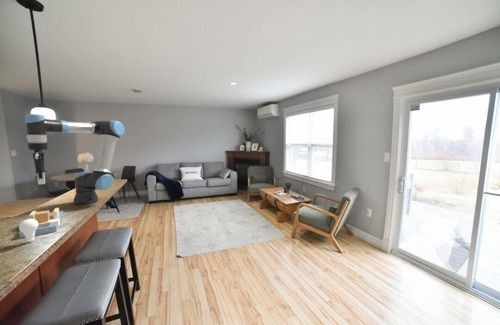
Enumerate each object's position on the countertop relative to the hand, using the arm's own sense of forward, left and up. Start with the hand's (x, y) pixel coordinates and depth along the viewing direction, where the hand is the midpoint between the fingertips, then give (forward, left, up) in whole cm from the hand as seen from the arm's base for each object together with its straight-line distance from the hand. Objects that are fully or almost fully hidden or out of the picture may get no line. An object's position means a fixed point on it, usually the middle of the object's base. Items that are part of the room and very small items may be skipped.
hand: (41, 183), depth 117 cm
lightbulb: (+26, +13, -22) cm, 37 cm away
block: (+8, +5, -19) cm, 21 cm away
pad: (+9, +5, -22) cm, 25 cm away
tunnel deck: (+6, +4, -22) cm, 23 cm away
